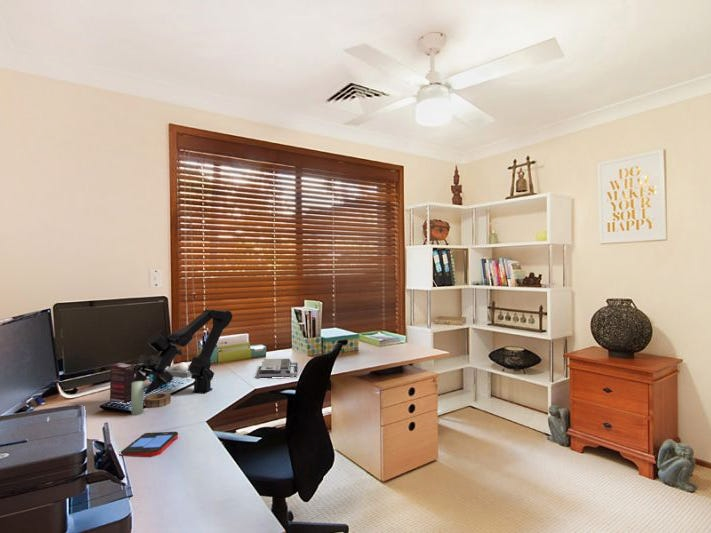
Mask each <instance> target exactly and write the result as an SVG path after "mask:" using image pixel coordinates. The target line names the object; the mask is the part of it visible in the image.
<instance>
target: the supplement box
mask: <svg viewBox="0 0 711 533" xmlns="http://www.w3.org/2000/svg"><path fill="white" fill-rule="evenodd" d="M135 365H136V364H131V363H130V364H129V363H123V362H119V363H118V362H117V363H115V364H111V365H110V369H109V371H110V374H109V376H110V379H109V380H110V381H109V382H110V383H109V384H110V386H109V388H110V390H109V391H110V394H109V398H110V399H109V403H110V402H122V403H127V402H130V401H131V395H132V390H131V386H132V382H133V381H134V378H135V372H134V369H133V367H134V366H135Z"/></svg>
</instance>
